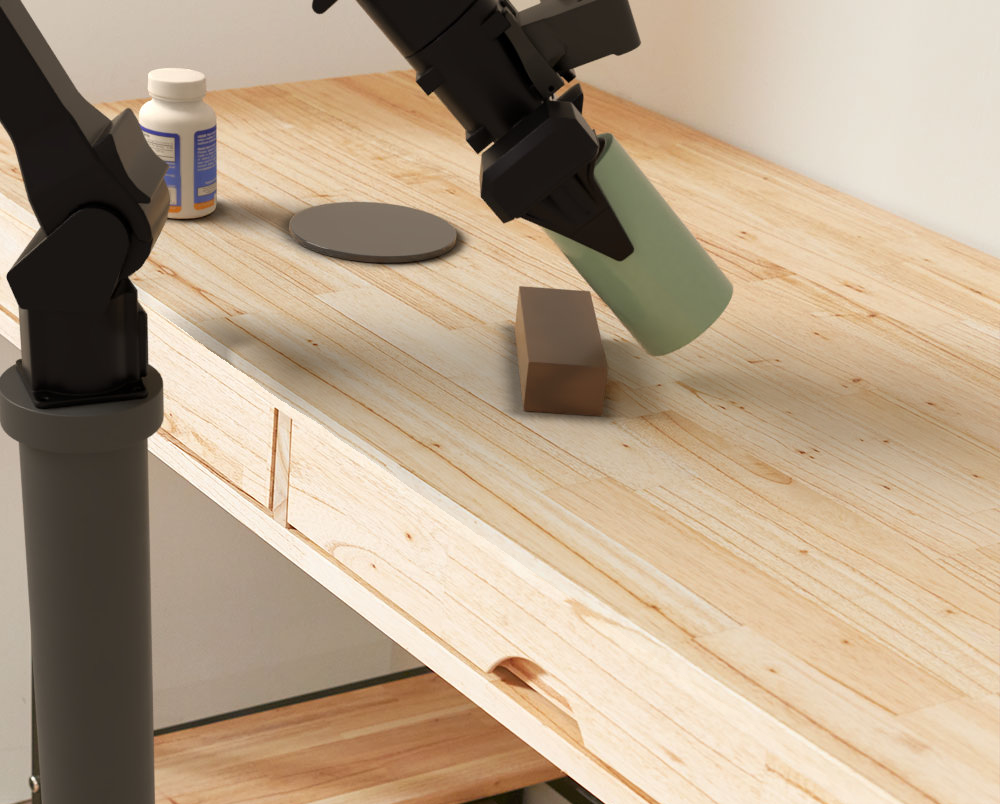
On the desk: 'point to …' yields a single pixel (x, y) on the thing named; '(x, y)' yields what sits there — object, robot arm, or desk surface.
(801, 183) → the desk surface
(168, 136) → the pill bottle
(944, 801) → the desk surface
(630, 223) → the cup
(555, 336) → the prop block
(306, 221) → the coaster
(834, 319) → the desk surface
